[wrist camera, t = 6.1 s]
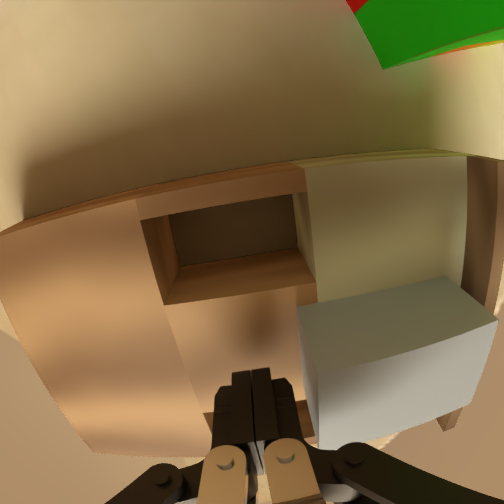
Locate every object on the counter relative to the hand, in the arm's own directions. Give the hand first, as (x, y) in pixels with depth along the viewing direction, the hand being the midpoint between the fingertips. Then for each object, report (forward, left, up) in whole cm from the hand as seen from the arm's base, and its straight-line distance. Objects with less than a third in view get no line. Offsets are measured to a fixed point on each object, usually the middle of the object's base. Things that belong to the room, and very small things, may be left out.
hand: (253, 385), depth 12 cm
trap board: (0, 0, -6) cm, 6 cm away
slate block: (0, +6, -2) cm, 6 cm away
